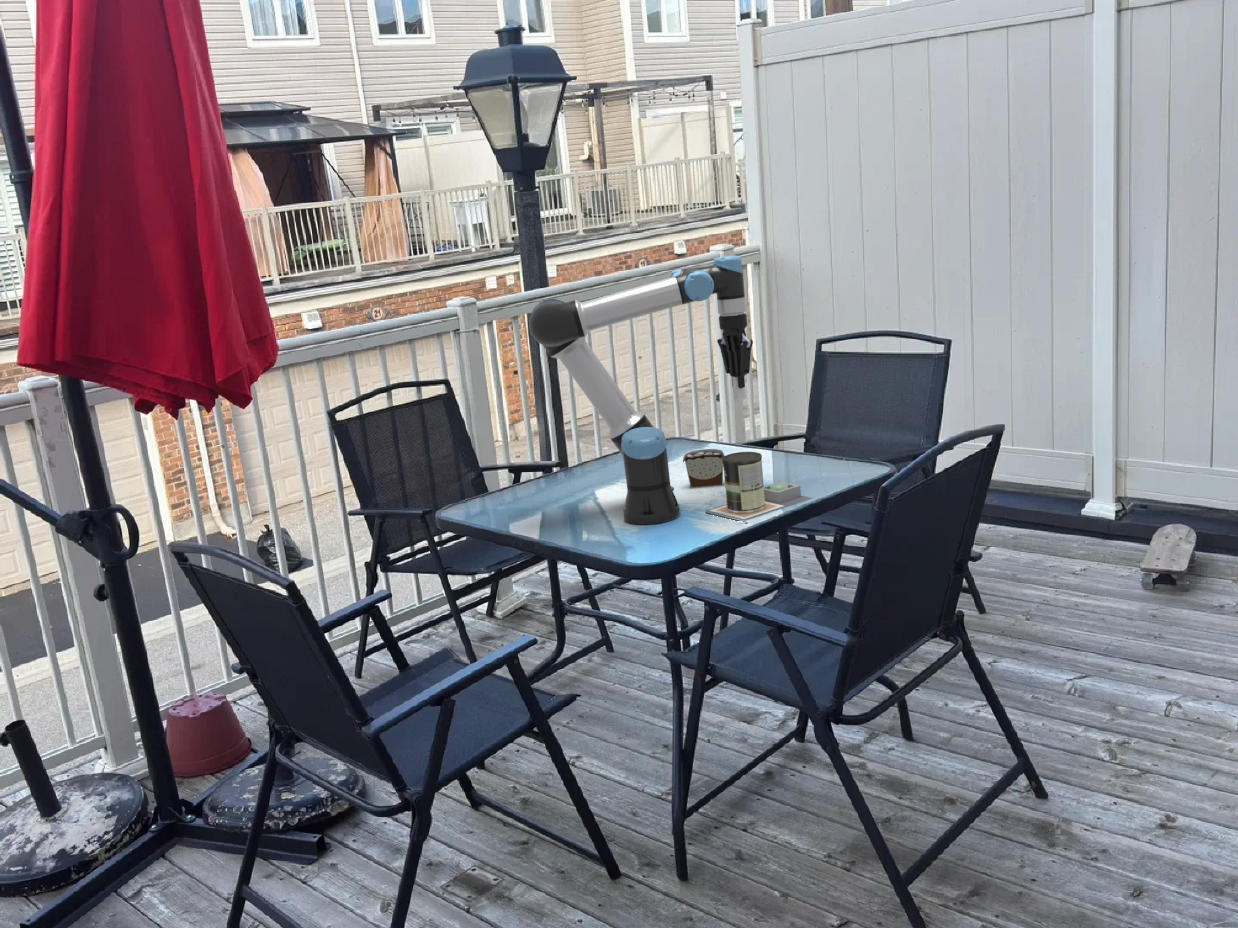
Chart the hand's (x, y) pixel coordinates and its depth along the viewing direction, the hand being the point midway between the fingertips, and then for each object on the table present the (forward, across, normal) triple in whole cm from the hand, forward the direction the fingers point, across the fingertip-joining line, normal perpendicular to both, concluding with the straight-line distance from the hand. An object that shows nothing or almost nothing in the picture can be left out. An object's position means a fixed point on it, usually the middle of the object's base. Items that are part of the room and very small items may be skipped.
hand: (739, 399), depth 300 cm
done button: (+26, -15, +1) cm, 29 cm away
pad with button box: (+26, -15, +8) cm, 31 cm away
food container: (+27, +17, +2) cm, 32 cm away
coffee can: (+26, -15, +13) cm, 33 cm away
